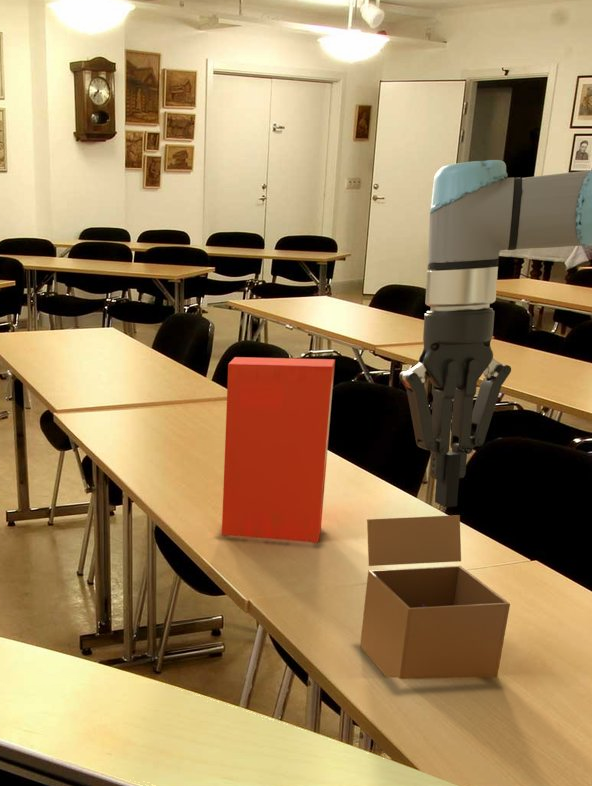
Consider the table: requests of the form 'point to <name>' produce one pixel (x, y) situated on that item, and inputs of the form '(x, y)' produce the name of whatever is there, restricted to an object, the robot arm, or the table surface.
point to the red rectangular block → (276, 447)
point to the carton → (432, 623)
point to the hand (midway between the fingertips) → (445, 504)
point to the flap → (414, 540)
